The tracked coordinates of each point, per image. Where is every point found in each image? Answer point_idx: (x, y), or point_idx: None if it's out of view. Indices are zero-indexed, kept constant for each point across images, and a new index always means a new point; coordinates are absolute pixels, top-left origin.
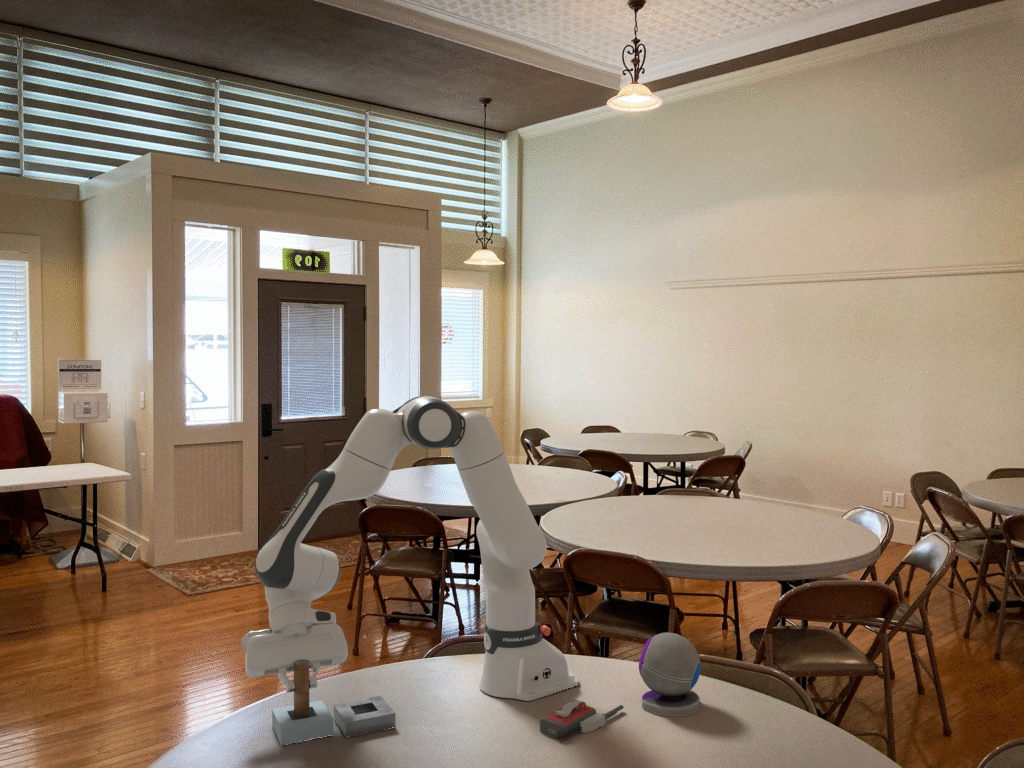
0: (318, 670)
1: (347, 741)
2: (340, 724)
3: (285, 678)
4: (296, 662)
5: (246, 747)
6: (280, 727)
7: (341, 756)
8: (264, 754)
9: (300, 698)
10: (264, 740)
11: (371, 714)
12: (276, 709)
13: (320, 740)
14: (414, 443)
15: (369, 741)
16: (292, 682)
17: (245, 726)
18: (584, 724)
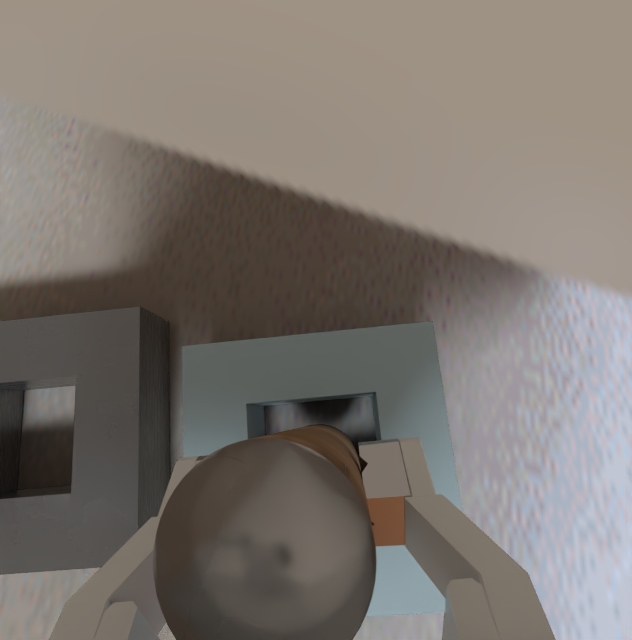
0: (108, 561)
1: (171, 292)
2: (160, 412)
3: (449, 514)
4: (332, 567)
5: (560, 381)
6: (434, 335)
7: (217, 186)
8: (484, 291)
9: (322, 428)
10: (486, 423)
11: (13, 352)
12: None
13: (264, 337)
14: None
15: (99, 264)
16: (379, 475)
17: (584, 631)
18: None
